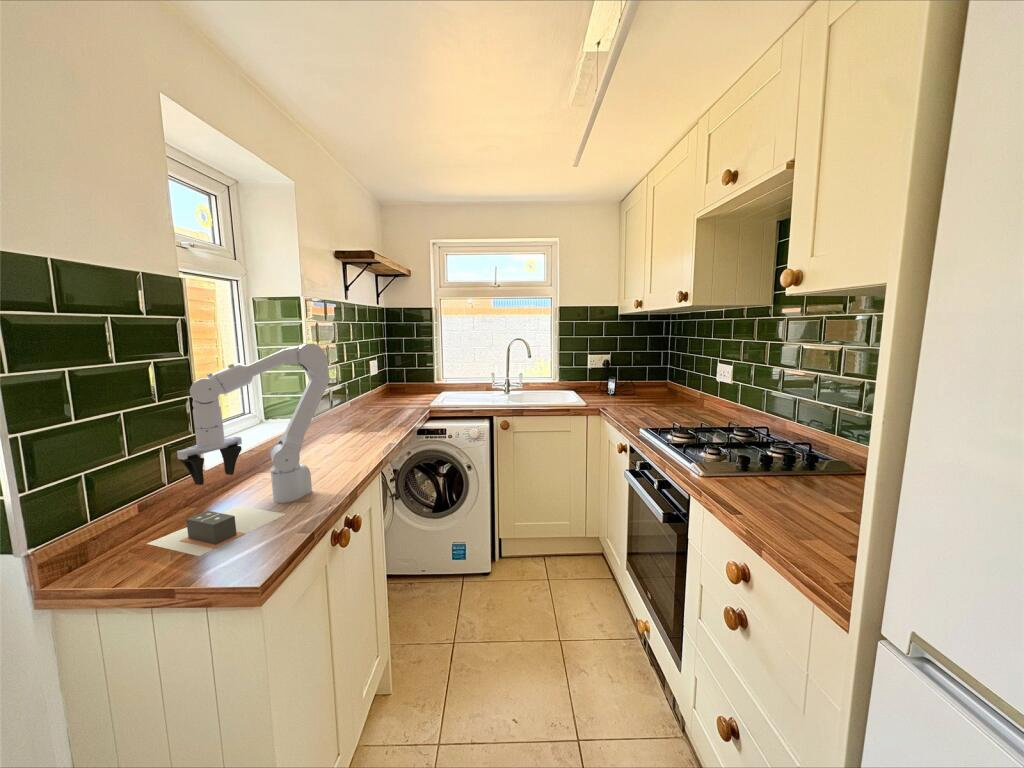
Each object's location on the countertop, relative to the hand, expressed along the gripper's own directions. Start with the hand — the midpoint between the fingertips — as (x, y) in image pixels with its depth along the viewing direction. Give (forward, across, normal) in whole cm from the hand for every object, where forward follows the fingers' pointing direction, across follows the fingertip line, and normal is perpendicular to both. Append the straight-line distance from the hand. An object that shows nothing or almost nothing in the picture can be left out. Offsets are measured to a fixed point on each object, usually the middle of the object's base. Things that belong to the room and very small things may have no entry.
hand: (215, 479), depth 106 cm
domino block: (+9, +10, +12) cm, 18 cm away
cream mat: (+9, +6, +10) cm, 15 cm away
